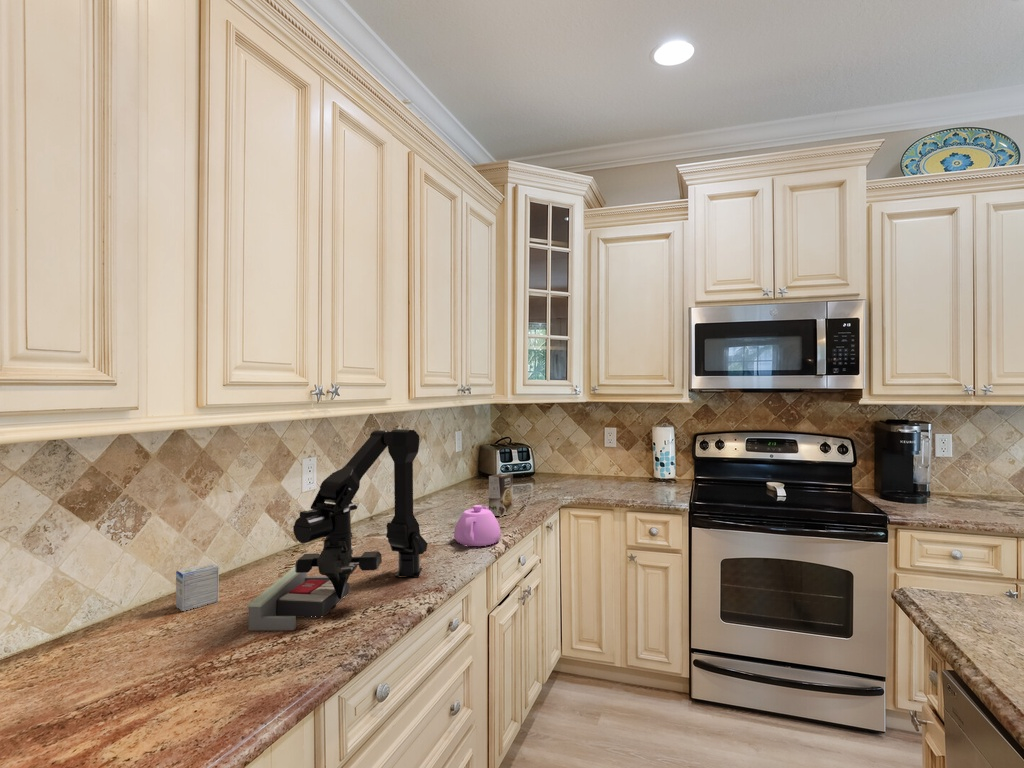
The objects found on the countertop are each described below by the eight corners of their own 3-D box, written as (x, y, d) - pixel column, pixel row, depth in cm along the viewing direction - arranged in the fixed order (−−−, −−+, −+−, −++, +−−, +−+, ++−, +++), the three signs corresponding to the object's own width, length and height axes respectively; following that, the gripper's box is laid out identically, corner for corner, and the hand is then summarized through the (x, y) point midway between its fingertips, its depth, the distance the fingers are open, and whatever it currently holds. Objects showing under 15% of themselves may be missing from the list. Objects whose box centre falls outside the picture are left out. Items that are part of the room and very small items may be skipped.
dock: (296, 586, 141) (296, 564, 141) (333, 585, 141) (333, 564, 141) (248, 630, 115) (248, 604, 115) (293, 630, 115) (293, 603, 115)
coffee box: (501, 518, 215) (501, 477, 215) (488, 516, 219) (488, 475, 219) (513, 513, 223) (513, 473, 223) (500, 511, 226) (500, 472, 227)
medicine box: (211, 597, 133) (211, 562, 133) (219, 602, 130) (219, 565, 130) (175, 607, 127) (175, 570, 127) (182, 612, 124) (182, 574, 124)
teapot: (492, 552, 170) (491, 513, 170) (444, 549, 173) (444, 511, 173) (507, 534, 191) (507, 499, 191) (465, 532, 194) (465, 498, 194)
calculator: (349, 579, 136) (322, 599, 121) (349, 597, 136) (322, 619, 121) (307, 577, 137) (275, 597, 123) (307, 595, 137) (275, 616, 122)
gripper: (284, 543, 120) (286, 614, 120) (369, 540, 120) (371, 611, 120) (303, 529, 131) (305, 594, 131) (381, 527, 131) (383, 591, 131)
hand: (340, 598), depth 128 cm, fingers closed
